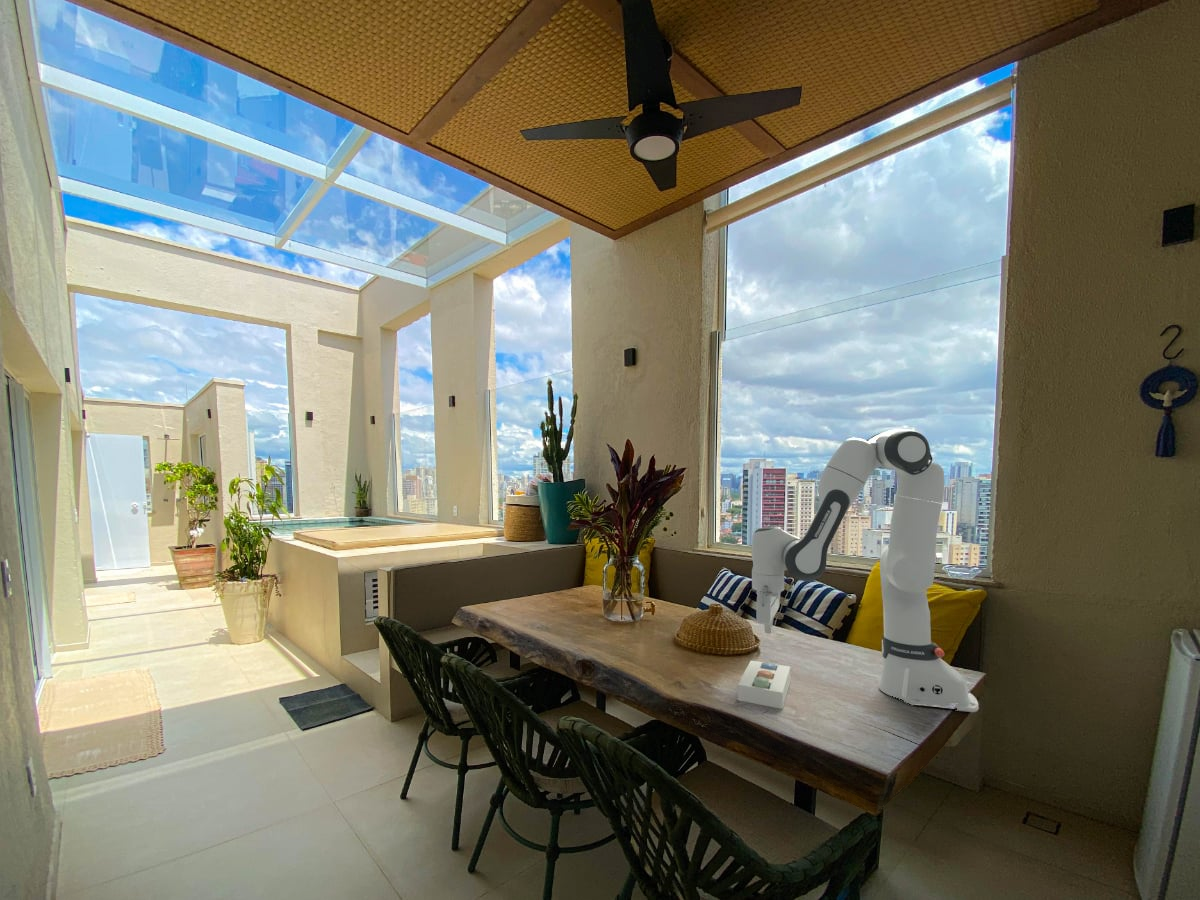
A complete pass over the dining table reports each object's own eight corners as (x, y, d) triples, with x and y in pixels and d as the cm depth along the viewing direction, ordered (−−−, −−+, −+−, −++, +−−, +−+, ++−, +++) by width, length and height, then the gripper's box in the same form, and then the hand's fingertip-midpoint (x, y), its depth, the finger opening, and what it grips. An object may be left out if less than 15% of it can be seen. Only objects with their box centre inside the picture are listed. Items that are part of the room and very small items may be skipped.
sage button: (769, 689, 133) (769, 678, 134) (767, 695, 130) (767, 683, 130) (755, 687, 135) (755, 675, 135) (753, 692, 132) (753, 680, 132)
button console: (790, 681, 145) (790, 666, 146) (782, 709, 127) (782, 692, 128) (750, 674, 150) (750, 660, 150) (737, 700, 132) (737, 684, 132)
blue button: (776, 674, 146) (776, 663, 146) (774, 678, 143) (774, 667, 143) (763, 672, 147) (763, 661, 148) (761, 676, 144) (761, 665, 144)
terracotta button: (773, 682, 140) (773, 671, 140) (771, 687, 136) (771, 676, 137) (759, 680, 141) (759, 669, 141) (757, 685, 138) (757, 673, 138)
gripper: (774, 591, 136) (775, 644, 135) (783, 578, 154) (784, 624, 153) (750, 588, 138) (751, 640, 138) (761, 576, 157) (762, 621, 156)
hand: (768, 632), depth 145 cm, fingers closed
